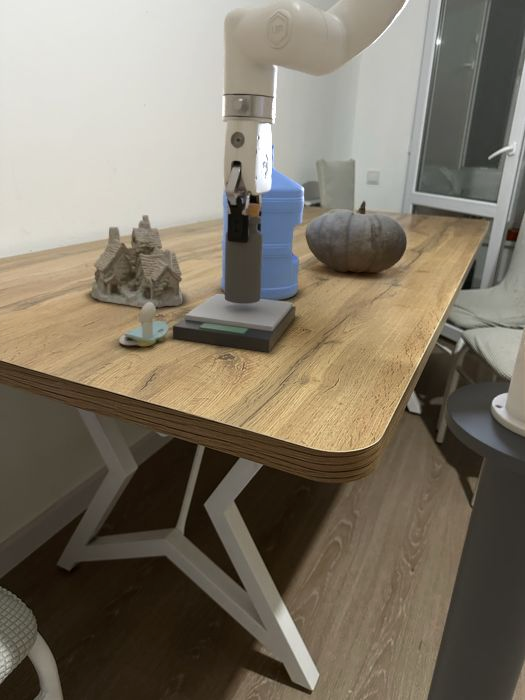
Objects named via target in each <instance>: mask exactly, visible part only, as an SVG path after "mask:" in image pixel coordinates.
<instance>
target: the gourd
mask: <svg viewBox="0 0 525 700" xmlns="http://www.w3.org/2000/svg"><path fill="white" fill-rule="evenodd" d="M366 203H367V202H366V200H363V201H362V202H361V204H360V207H359V208H358V210H356V212H354V211H353V210H350V209H344V208H333V209H330V210H328V211H326V212H325V213H323V214H322V215H319V216H317V217H315V218H313V219H311V221H309V223H308V224H307V226H306V228H305V234H304V235H305V241H306V244H307V246H308V249H309V250H310V252H311V253H312V254H313V256H314V257H315V258H316V259H317V260H318V261H319V262H320V263H321V264H323V265H325V266H326V267H327V268H329V269H331V270H333V271H335V272H339V273H341V272H342V273H347V272H349V271H350V272H354V273H362V272H364V273H371V274H377V273H381V272H384V271H386V270H388V269H390V268H392V267H394V266H395V265H396V264H398V262H400V260H401V259H402V258H403V256H404V254H405V253H406V250H407V245H408V239H407V234H406V231H405V228H404V227H403V226H402V224H401V223H399V221H397V220H396V218H394V217H392V216H390V215H387V214H383V213H373V214H369V213H366V212H367V211H366V205H367V204H366Z"/></svg>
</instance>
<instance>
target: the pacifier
mask: <svg viewBox="0 0 525 700" xmlns="http://www.w3.org/2000/svg"><path fill="white" fill-rule="evenodd" d="M156 314H157V308H155V306H154V304H153V303H151V302H148V303H146V304H145V305H144V306H143V308H142V307H141V310H140V312H139V317H138V319H139V322H140V323H141V325H140V326H138V327H136V328H134V329H132V330H130V331H127V332H124V333H123V335H122V336H121V337H120V338H119V339H118V342H119V344H121V345H124V346H138V347H149V346H153V345H154V344H155V343H157V341H158V340H160V339H162V338H163V337H166V335H167V334H168V331H169V325H168V324H167V322H165V321H162V320H155V321H153V320H154V319H155V317H156ZM128 339H132V340H128Z"/></svg>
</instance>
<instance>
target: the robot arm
mask: <svg viewBox="0 0 525 700" xmlns="http://www.w3.org/2000/svg"><path fill="white" fill-rule="evenodd" d="M408 2H409V0H338V1H337V2H336V3H335V4H333V5H332V6H331V7H330V8H329V9H327V10H326V11H325V10H324V11H323V10H322V9H320V8H318V7H316V6H314V5H312V4H309V3H308V2H306V1H304V0H275V1H272V2H270V3H267V4H264V5H261V6H258V7H251V6H249V7H247V6H245V7H237V8H234V9H231V10H230V11H228V12H227V14H225V17H224V22H223V52H222V53H223V56H222V57H223V59H222V62H223V63H222V118H221V120H222V122H223V123H226V127H225V135H224V136H225V138H224V148H223V149H224V151H223V173H222V175H223V190H224V189H225V191H226V195H227V198H228V199H227V201H228V202H227V203H228V210H227V212H228V235H227V239H228V241H230V242H241V243H247V242H248V241H249V219H250V215H247V212H248V205H249V203H256V204H260V205H261V207H260V211H259V215H258V216H260V217H262V211H261V210H262V194H264V193H267V192H269V191H270V189H271V145H272V129H271V125H274V124H275V118H276V115H275V114H276V101H277V100H276V98H277V81H278V79H277V78H278V67H280V68H285V69H288V70H291V71H296V72H299V73H303V74H307V75H310V76H313V77H323V76H326V75H329V74H332V73H334V72H335V71H338V70H339V69H341V68H342V67H344V66H345V65H347V64H348V63H349V62H351V61H352V60H353V59H355V58H357V56H359V55H360V54H361V53H363V52H364V51H365V50H367V49H368V48H369V47H371V46H372V45H373V44H374V43H376V41H378V40H379V38H381V36H382V35H383V34H384V33H385V32H386V31H387V30H388V29H389V28H390V26H391V25H392V24H393V23H394V21H395V20H396V19H397V17H399V15H400V14H401V13H402V11H403V10H404V9H405V7H406V5H407V4H408ZM242 191H243V192H242ZM241 198H243V204H242V199H241ZM257 229H258V230H259V231H260V232H261V223H260V224H258V226H257ZM509 382H510V387H509V391H508V393H504V394H501V395H498V396H497V397H495V398H494V399H493V401H492V404H491V413H492V415H493V417H494V418H495V419H496V420H497V421H498V422H499V423H500V424H501V425H503V426H504V427H505V428H507V429H509V430H511V431H512V432H514V433H516V434H518V435H521V436H523V437H525V324H524V325H523V328H522V334H521V337H520V342H519V346H518V350H517V354H516V359H515V362H514V366H513V371H512V375H511V379H510V381H509Z"/></svg>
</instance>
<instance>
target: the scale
mask: <svg viewBox="0 0 525 700" xmlns="http://www.w3.org/2000/svg"><path fill="white" fill-rule="evenodd" d="M296 309H297V307H296V306H295V305H293V302H290V301H285V300H268V299H260V300H259V301H258V302H255V303H249V304H240V303H233V302H229V301H227V300H225V293H214V294H213V295H212V296H211V297H209V298H208V299H206V300H205V301H203V302H202V303H200V304H199V305H198V306H196V307H195V308H193V309H192V310H190V311H189V312H187V313H185V316H184V318H182V319H181V320H179V321H178V322H176V323H175V324H174V325H173V326H172V339H175V340H181V341H189V342H195V343H204V344H210V345H216V346H217V345H218V346H224V347H230V348H237V349H244V350H251V351H257V352H263V353H269V352H270V351H271V350H272V348H273V347H274V346H275V344H276V343H277V342H278V340H279V339H280V338H281V336H283V334H284V332H285V331H286V330H287V328H289V326H290V325H291V323H292V322H293V321H294V319H295V318H296Z"/></svg>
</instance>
